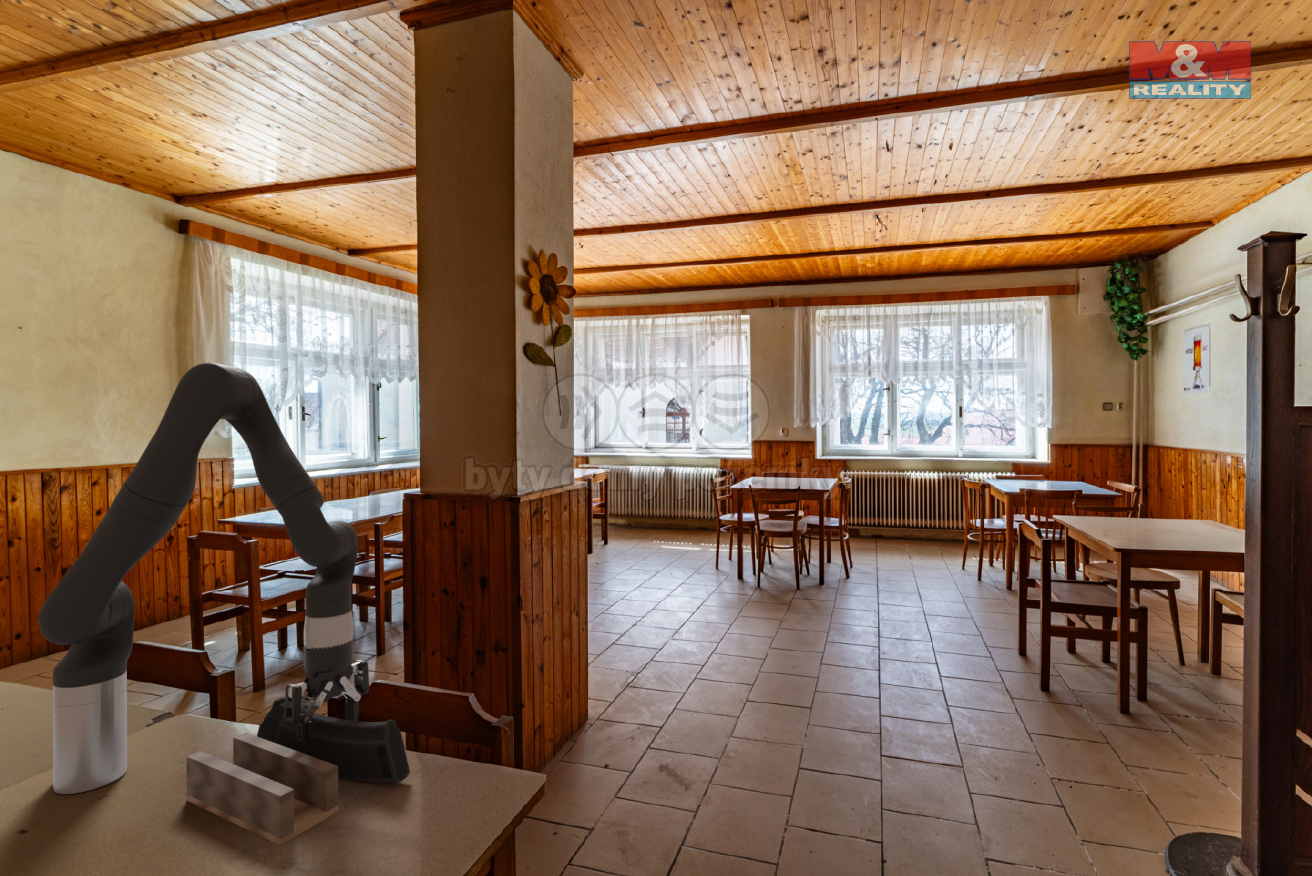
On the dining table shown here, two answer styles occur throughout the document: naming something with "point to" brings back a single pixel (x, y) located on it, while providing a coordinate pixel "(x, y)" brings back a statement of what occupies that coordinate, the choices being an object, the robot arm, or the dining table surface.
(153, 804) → the dining table surface
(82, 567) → the robot arm
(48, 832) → the dining table surface
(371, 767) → the magazine
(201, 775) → the slot block
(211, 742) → the dining table surface
